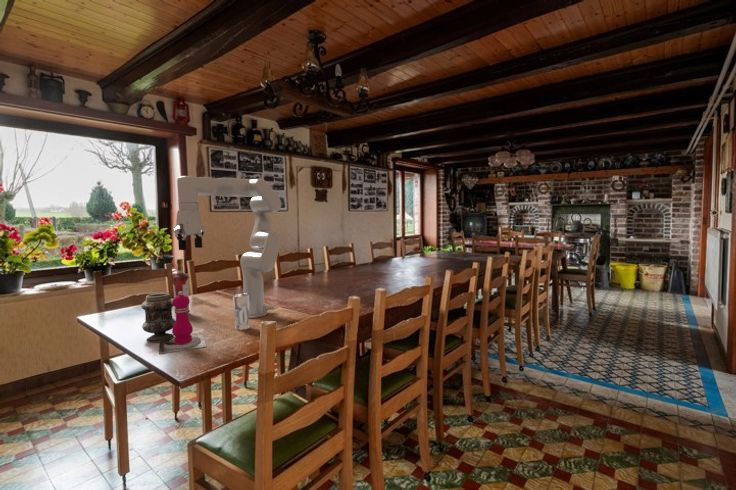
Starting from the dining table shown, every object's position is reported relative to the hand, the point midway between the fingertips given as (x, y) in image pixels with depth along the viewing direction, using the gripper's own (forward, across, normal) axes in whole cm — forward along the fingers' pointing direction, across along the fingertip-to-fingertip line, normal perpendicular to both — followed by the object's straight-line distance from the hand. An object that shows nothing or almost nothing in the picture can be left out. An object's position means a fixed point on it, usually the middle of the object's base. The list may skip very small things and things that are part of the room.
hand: (190, 248), depth 159 cm
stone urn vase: (+36, +8, -11) cm, 39 cm away
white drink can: (+36, -12, +15) cm, 41 cm away
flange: (+36, +11, +3) cm, 38 cm away
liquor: (+36, -26, -28) cm, 53 cm away
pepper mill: (+36, +10, +3) cm, 37 cm away
